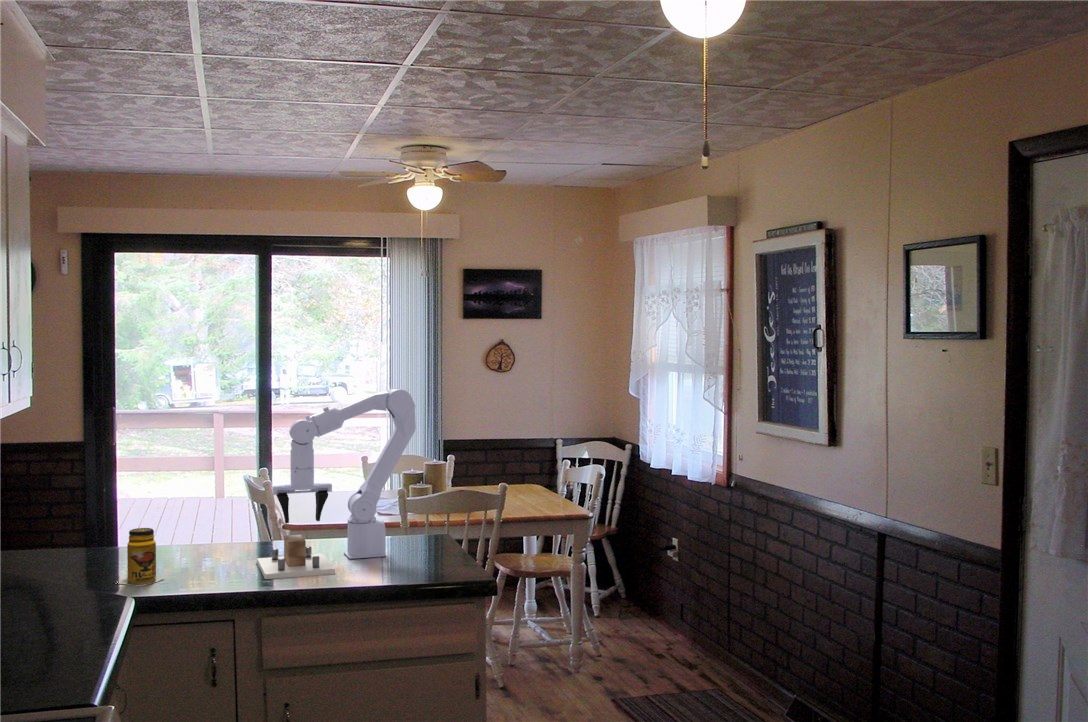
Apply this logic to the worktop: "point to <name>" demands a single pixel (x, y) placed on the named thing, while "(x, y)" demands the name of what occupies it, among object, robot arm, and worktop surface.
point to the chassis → (280, 569)
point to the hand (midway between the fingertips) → (302, 521)
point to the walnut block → (294, 550)
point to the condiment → (141, 558)
